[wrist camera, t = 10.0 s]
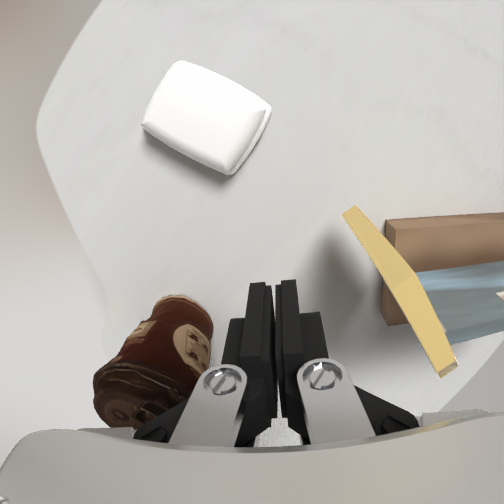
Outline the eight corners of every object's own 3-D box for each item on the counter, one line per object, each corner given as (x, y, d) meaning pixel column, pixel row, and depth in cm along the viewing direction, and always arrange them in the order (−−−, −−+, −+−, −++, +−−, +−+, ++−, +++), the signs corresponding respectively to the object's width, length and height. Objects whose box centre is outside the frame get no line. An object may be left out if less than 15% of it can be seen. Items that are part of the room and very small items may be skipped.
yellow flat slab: (387, 285, 23) (439, 379, 13) (340, 215, 21) (390, 291, 11) (400, 276, 22) (459, 365, 13) (355, 204, 21) (416, 272, 11)
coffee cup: (217, 280, 28) (180, 388, 16) (235, 351, 31) (216, 461, 19) (131, 288, 29) (64, 380, 17) (157, 354, 32) (115, 449, 20)
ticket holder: (492, 292, 26) (544, 349, 17) (380, 310, 28) (416, 390, 18) (506, 212, 23) (575, 254, 13) (385, 219, 24) (442, 277, 15)
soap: (278, 107, 22) (279, 104, 19) (234, 180, 25) (229, 187, 22) (179, 56, 21) (168, 49, 18) (140, 129, 23) (125, 130, 21)
